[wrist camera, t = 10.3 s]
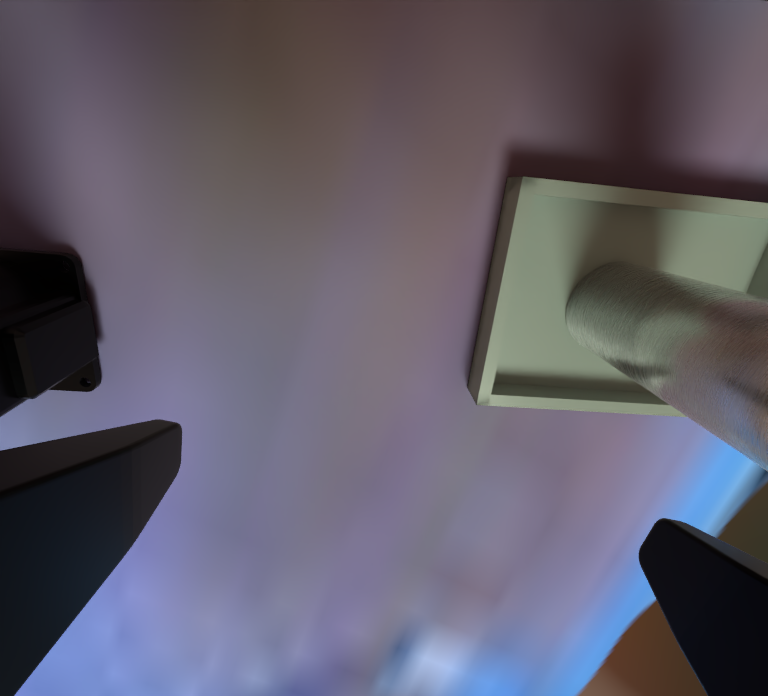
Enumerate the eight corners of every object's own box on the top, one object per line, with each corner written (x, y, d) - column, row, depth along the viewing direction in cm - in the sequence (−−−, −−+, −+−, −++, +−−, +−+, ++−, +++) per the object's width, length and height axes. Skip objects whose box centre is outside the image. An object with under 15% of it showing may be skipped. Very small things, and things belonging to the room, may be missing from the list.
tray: (467, 387, 21) (476, 404, 20) (507, 177, 18) (523, 176, 16) (700, 402, 23) (728, 419, 21) (784, 207, 19) (826, 209, 17)
